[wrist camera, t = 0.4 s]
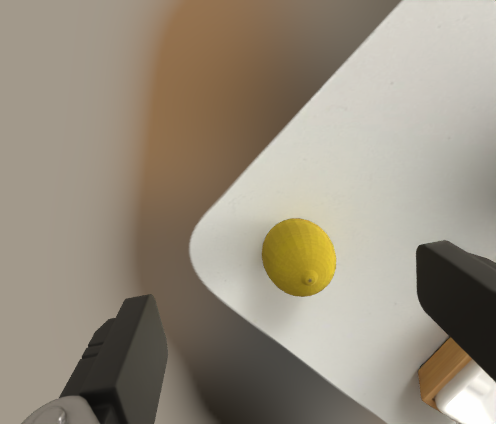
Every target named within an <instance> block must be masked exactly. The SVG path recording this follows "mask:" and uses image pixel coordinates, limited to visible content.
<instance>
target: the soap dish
mask: <svg viewBox="0 0 496 424" xmlns="http://www.w3.org/2000/svg"><path fill="white" fill-rule="evenodd" d="M418 375H419V384H420V393H421V399H422V401H423V402H425V403H426V404H428V405H429V406H431V407H433V408H434V409H436V410H438V411H439V412H441V413H443V414H444V415H446V416H448V417H449V418H451V419H453V420H455V421H456V422H458V423H460V424H496V382H495V381H494V380H493V379H492V378H491V377H490V376H489V375H488V374H487V373H486V372H485V371H484V370H483V369H482V368H481V367H480V366H479V365H478V364H477V363H476V362H475V361H474V360H473V359H472V358H471V357H470V356H469V355H468V354H467V353H466V352H465V351H464V350H463V349H462V348H461V347H460V346H459V345H458V344H457V343H456V342H455V341H454V340H453V339H452V338H451V337H450V338H449V339H448V340H447V341H446V342H445V343H444V344H443V345H442V346H441V347H440V349H439V350H438V351H437V352H436V353H435V354H434V355H433V356H432V357H431V358H430V359H429V360H428V361H427V362H426V363H424V364H422V365H421V368H420V369H419V371H418Z"/></svg>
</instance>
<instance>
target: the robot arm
mask: <svg viewBox="0 0 496 424" xmlns="http://www.w3.org/2000/svg"><path fill="white" fill-rule="evenodd" d="M416 273H417V295H418V299H419V302H420V304H421V306H422V308H423V310H424V311H425V312H426V313H427V314H428V315H429V316H430V317H431V318H432V319H433V320H434V321H435V322H436V323H437V324H438V325H439V326H440V327H441V328H442V329H443V330H444V331H445V332H446V333H447V334H448V335H449V336H450V337H451V338H452V339H453V340H454V341H455V342H456V343H457V344H458V345H459V346H460V347H461V348H462V349H463V350H464V351H465V352H466V353H467V354H468V355H469V356H470V357H471V358H472V359H473V360H474V361H475V362H476V363H477V364H478V365H479V366H480V367H481V368H482V369H483V370H484V371H485V372H486V373H487V374H488V375H489V376H490V377H491V378H492V379H493V380H494V381H495V382H496V263H495V262H493V261H491V260H489V259H487V258H484V257H481V256H478V255H474V254H471V253H468V252H466V251H464V250H463V249H461V248H459V247H457V246H456V245H454V244H452V243H451V242H449V241H446V240H443V241H438V242H432V243H427V244H421V245H419V246H418V248H417V251H416ZM167 357H168V350H167V341H166V337H165V333H164V330H163V326H162V322H161V319H160V316H159V312H158V308H157V305H156V301H155V298H154V296H153V295H152V294H150V295H144V296H139V297H133V298H128V299H125V301H124V302H123V304H122V306H121V308H120V310H119V312H118V314H117V316H116V318H112V319H108V321H106V322H105V323H104V324H103V325H102V326H101V327H100V328H99V329H98V330H97V331H96V332H95V333H94V335H93V337H92V339H91V341H90V342H89V344H88V348H86V350H85V352H84V354H83V355H82V359H80V361H79V362H78V364H77V366H76V368H75V370H74V372H73V373H72V375H71V377H70V379H69V381H68V382H67V384H66V386H65V388H64V390H63V391H62V393H61V395H60V397H59V399H56V400H53V401H51V402H49V403H47V404H45V405H43V406H42V407H40V408H39V409H37V410H36V411H35V412H33V413H32V414H31V415H30V416H29V417H27V418H26V419H25V420H24V421H23V422H22V423H21V424H154V422H155V417H156V412H157V407H158V402H159V397H160V393H161V388H162V383H163V378H164V373H165V368H166V364H167Z"/></svg>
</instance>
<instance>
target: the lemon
mask: <svg viewBox="0 0 496 424" xmlns="http://www.w3.org/2000/svg"><path fill="white" fill-rule="evenodd" d="M262 260H263V266H264V268H265V270H266V272H267V275H268V276H269V278H270V279H271V280H272V282H273V283H274V284H275V285H276V286H277V287H278V288H279V289H281V290H282V291H284V292H285V293H287V294H290V295H293V296H301V297H305V296H311V295H314V294H316V293H318V292H320V291H322V290H323V289H324V288H325V287H326V286H327V285H328V284H329V283H330V281H331V280H332V278H333V276H334V273H335V269H336V255H335V251H334V247H333V244H332V242H331V240H330V239H329V237H328V235H327V234H326V233H325V232H324V231H323V230H322V229H321V228H320V227H319V226H318V225H316V224H314V223H312V222H310V221H308V220H304V219H288V220H284V221H282V222H280V223H278V224H276V225H275V226H274V227H273V228H272V229H271V230H270V231H269V233H268V234H267V235H266V237H265V240H264V243H263V247H262Z"/></svg>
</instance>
